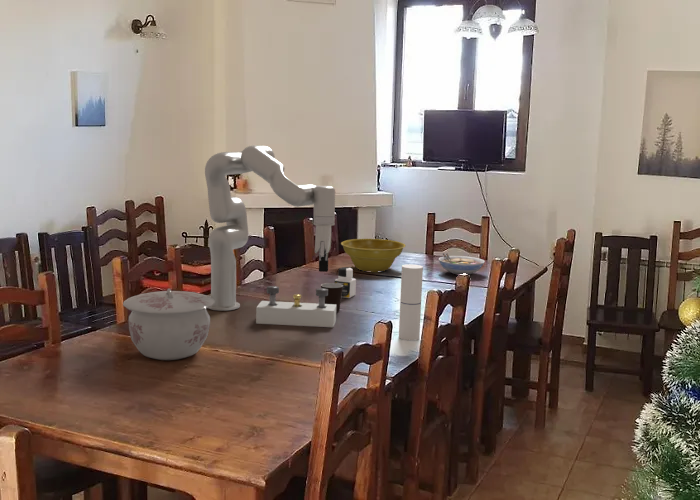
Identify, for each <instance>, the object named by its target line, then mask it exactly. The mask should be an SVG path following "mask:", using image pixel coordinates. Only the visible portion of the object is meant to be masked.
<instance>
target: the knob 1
mask: <svg viewBox="0 0 700 500" xmlns="http://www.w3.org/2000/svg"><path fill="white" fill-rule="evenodd" d="M266 293H267V294H269V301H270V306H276V302H277V301H276V298H277V297H276V296H277V294H279V293H280V287H279V286H276V285H267V286H266Z"/></svg>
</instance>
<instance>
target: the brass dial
mask: <svg viewBox="0 0 700 500" xmlns="http://www.w3.org/2000/svg"><path fill="white" fill-rule="evenodd" d="M292 298H293V299H294V301H293V302H294V307H300V303H301V299H302V294H299V293H294V294H293V295H292Z"/></svg>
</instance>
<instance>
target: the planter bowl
mask: <svg viewBox="0 0 700 500" xmlns="http://www.w3.org/2000/svg"><path fill="white" fill-rule="evenodd" d="M340 245H341V246H342V247H343V250H344V252H345V254H347V255H348V256H349V257H350V260H351V262H352V264H353V265H354V267H355V268H356V269H359V270H358V271H360V270H363V271H362V272H364V271H371V272H370V273H379V272H378V271H384V272H386V271H387V270H388V269H390V268H391V267H392V265H394V261H395V259H396V258H398V257H399V256H400V255H401V254H402V252H403V249H404V248H406V244H405V243H403V242H402V241H401V242H400V241H396V240H391V239H384V238H383V239H382V238H381V239H380V238H353V239H347V240H344V241H341V242H340ZM385 270H386V271H385Z"/></svg>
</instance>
